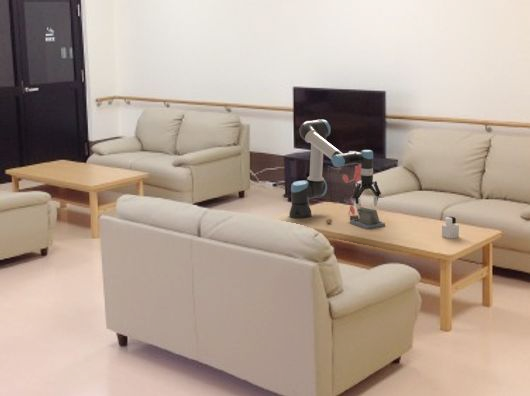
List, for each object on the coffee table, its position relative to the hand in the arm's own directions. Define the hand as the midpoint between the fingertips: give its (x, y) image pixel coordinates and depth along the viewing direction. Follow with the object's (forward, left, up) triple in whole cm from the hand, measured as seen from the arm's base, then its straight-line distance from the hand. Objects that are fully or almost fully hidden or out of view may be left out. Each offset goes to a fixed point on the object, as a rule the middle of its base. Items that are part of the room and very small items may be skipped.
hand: (366, 207), depth 502 cm
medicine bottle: (+53, +23, -12) cm, 59 cm away
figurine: (-27, +13, -12) cm, 32 cm away
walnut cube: (-13, -1, -12) cm, 17 cm away
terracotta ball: (-17, -18, -11) cm, 27 cm away
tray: (0, 0, -11) cm, 11 cm away
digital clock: (+1, +1, -11) cm, 11 cm away
